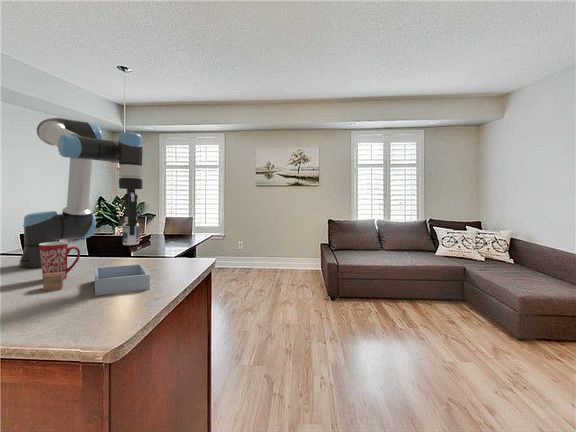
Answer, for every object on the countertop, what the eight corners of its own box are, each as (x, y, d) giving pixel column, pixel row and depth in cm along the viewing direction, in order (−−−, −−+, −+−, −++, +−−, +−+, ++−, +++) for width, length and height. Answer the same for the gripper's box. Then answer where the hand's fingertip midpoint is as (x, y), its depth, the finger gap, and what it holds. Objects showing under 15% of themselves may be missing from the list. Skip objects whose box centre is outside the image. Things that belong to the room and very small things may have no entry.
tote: (94, 281, 122) (94, 267, 122) (141, 276, 130) (141, 264, 130) (95, 295, 105) (95, 279, 105) (149, 289, 113) (149, 274, 113)
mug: (37, 283, 117) (36, 245, 117) (41, 277, 125) (40, 242, 124) (79, 279, 124) (79, 243, 123) (80, 274, 131) (80, 240, 131)
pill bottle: (136, 242, 122) (135, 216, 122) (141, 244, 118) (141, 217, 118) (120, 243, 118) (120, 216, 118) (125, 245, 115) (125, 217, 114)
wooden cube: (45, 287, 113) (45, 273, 112) (63, 286, 115) (62, 271, 115) (43, 291, 108) (43, 276, 108) (62, 289, 111) (61, 274, 111)
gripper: (117, 178, 123) (117, 240, 124) (120, 176, 107) (121, 247, 109) (139, 179, 127) (139, 239, 128) (145, 177, 111) (145, 246, 112)
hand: (131, 243), depth 118 cm, fingers closed on pill bottle, 5 cm apart
